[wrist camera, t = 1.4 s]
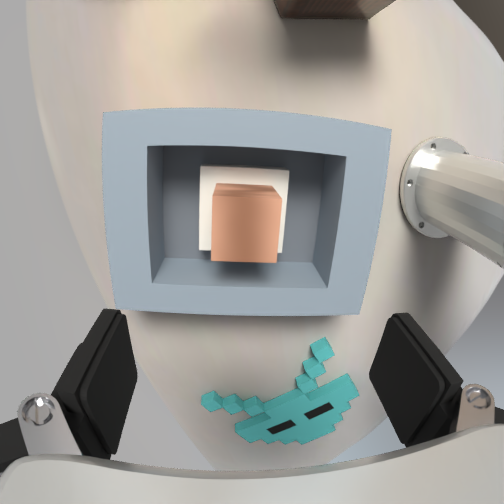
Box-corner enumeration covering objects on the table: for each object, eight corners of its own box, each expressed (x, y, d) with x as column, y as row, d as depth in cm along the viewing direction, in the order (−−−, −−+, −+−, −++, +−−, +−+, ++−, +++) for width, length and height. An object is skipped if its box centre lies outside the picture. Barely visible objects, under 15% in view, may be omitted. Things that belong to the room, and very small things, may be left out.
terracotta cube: (271, 185, 27) (282, 199, 22) (267, 237, 29) (276, 262, 24) (216, 183, 27) (212, 195, 21) (214, 235, 29) (211, 260, 23)
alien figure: (202, 393, 42) (267, 447, 49) (201, 404, 40) (269, 456, 47) (323, 334, 39) (366, 404, 46) (328, 345, 37) (370, 413, 44)
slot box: (360, 128, 29) (391, 129, 23) (338, 283, 36) (359, 314, 29) (129, 116, 27) (103, 112, 21) (134, 277, 34) (116, 308, 27)
